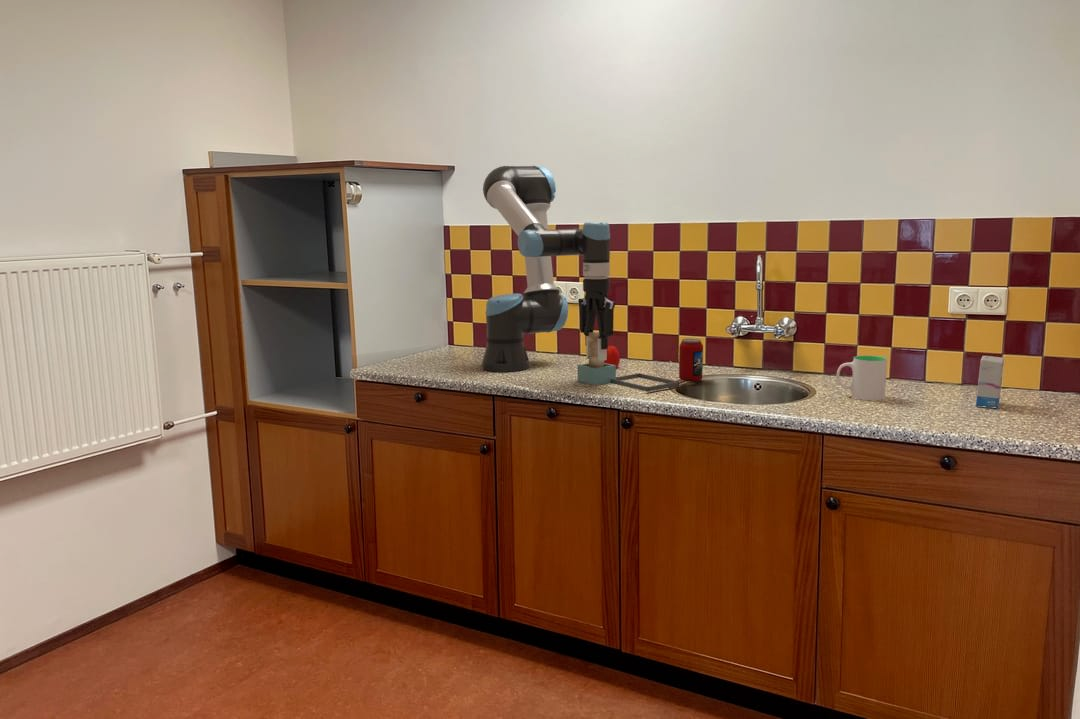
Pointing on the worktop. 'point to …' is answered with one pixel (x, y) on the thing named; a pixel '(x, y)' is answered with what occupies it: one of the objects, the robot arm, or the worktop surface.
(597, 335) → the dowel
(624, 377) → the dark grey rectangular frame
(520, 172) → the robot arm
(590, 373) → the teal open box
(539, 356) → the worktop surface
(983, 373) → the ink box
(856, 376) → the mug
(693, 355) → the beverage can
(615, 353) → the tomato
